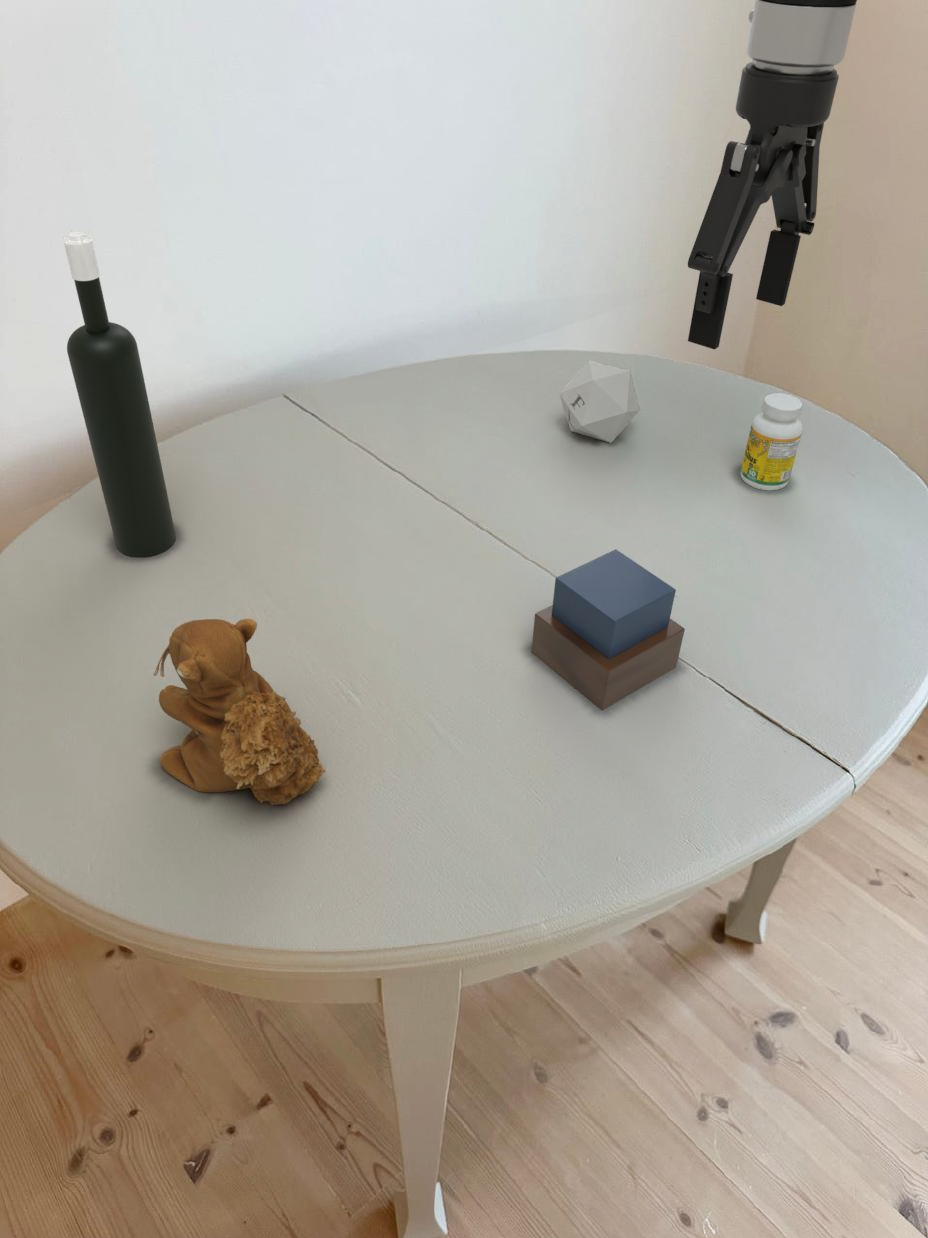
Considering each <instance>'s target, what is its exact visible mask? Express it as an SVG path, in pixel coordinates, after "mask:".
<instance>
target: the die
mask: <svg viewBox="0 0 928 1238" xmlns="http://www.w3.org/2000/svg"><path fill="white" fill-rule="evenodd" d="M558 395H559V398H560V401H561V404H562V407H563V411H564V414H565V417H566V420H567V423H568V426H569V431H570V432H572V433H576V434H578V435H581V436H585V437H589V438H592V439H596V440H599V441H603V442H606V443H610V444H612V443H613V442H614V441H615V440H616V438H617V437H619V435H620V434H621V433H622V432H623V431H624V429H625V428H626V427H627V426H628V425H629V423H631V422H632V421H633V419H634V418H635V417H636V416H637V415H638V414H639V413H640V411H641V408H640V407H641V406H640V403H639V399H638V396H637V391H636V387H635V384H634V380H633V377H632V372H631V370H628V369H624V368H620V367H617V366H612V365H608V364H605V363H601V362H598V361H594V360H590V359H588V360H587V361H586V362H585V364H584V365H582V367H581V368H580V369H579V370H578V372H577V373H576V374H575V375H574V376H573V377H572V378H571V379H570V380H569V382H568V383H566V385H565V386H564V387H563V388H562V389H561V390H560V392H559V393H558Z"/></svg>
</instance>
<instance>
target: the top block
mask: <svg viewBox="0 0 928 1238" xmlns="http://www.w3.org/2000/svg"><path fill="white" fill-rule="evenodd" d="M554 580H555V581H554V589H553V599H552V605H553V607H552V615H553V616H554V617H555V618H556V619H558V620H559V621H560V622H562V623H563V624H564V625H565V626H567V627H568V628H569V629H571V630H572V631H573V632H574V633H576V634H577V635H578V636H580V637H581V638H582V639H583V640H585V641H586V642H587V643H589V644H590V645H591V646H593V647H594V648H595V649H596V650H598V651H599V652H600V653H602V654H603V655H604V656H605V657H607V658H608V659H610V658H612V657H614V656H616V655H617V654H619V653H621V652H623V651H625V650H626V649H628V648H630V647H632V646H634V645H636V644H637V643H639V642H641V641H643V640H645V639H646V638H648V637H650V636H652V635H654V634H656V633H657V632H659V631H661V630H663V629H665V628H666V627H668V625H669V620H670V619H671V615H672V610H673V606H674V601H675V596H676V592H677V589H676V588H675V587H673V586H671V585H670V584H669V583H667V582H665V581H664V580H662V579H661V578H660V577H658V576H656V575H655V574H653V573H652V572H651V571H650V570H647V569H646V568H645V567H643V566H642V565H640V564H639V563H637V562H636V561H635V560H633V559H632V558H630V557H629V556H627V555H625V554H624V553H622V552H621V551H619V550H618V549H613V550H611V551H609V552H607V553H604V554H602V555H601V556H598V557H597V558H595V559H592V560H590V561H588V562H586V563H583V564H582V565H580V566H577V567H576V568H573V569H571V570H569V571H567V572H565V573H563V574H561V575H558V576H556V577H555V579H554Z"/></svg>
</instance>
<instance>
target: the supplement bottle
mask: <svg viewBox="0 0 928 1238" xmlns="http://www.w3.org/2000/svg"><path fill="white" fill-rule="evenodd" d="M802 409H803V402H802V400H800V399H799V397H798V398H797V397H796V396H794V395H790V394H787V393H779V392H778V393H777V392H776V393H770V394H767V395H766V396H765V397H764V399H763V402H762V406H761V411H760V412H759V413H757V414H755V416H754V417H753V419H752V421H751V425H750V429H749V434H748V438H747V443H746V447H745V451H744V456H743V459H742V464H741V467H740V478H741V479H742V481H743V482H744V483H745V484H746V485H748V486H750V487H752V488H755V489H758V490H760V491H761V490H762V491H777V490H781V489H783V488H785V487H786V486H787V485H788V484H789V481H790V478H791V474H792V471H793V467H794V463H795V459H796V456H797V453H798V449H799V445H800V442H801V438H802V435H803V430H804V428H803V427H804V426H803V423H802V421H801V420H800V419H799V418H800V417H801V414H802Z"/></svg>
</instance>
